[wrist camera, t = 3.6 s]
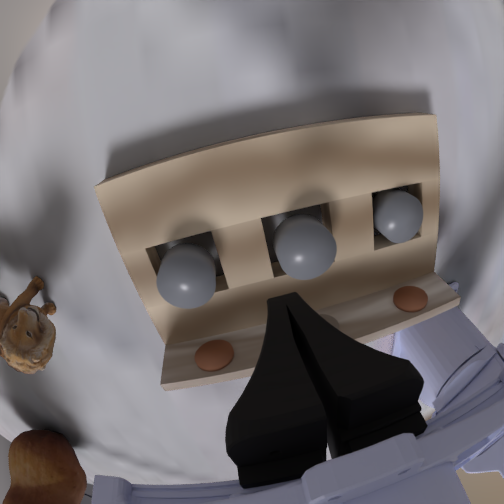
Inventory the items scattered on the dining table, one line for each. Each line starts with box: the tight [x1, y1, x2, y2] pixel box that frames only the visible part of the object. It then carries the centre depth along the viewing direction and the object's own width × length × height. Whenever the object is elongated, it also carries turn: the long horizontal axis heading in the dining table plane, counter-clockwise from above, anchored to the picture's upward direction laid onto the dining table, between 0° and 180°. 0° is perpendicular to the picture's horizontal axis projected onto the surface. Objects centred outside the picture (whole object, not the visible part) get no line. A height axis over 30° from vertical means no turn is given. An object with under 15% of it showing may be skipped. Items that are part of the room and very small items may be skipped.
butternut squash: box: [3, 429, 87, 504], centre depth 21 cm, size 14×13×25 cm
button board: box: [94, 113, 461, 391], centre depth 18 cm, size 14×23×6 cm, turn 102°
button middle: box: [273, 214, 337, 280], centre depth 18 cm, size 4×4×2 cm
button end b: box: [156, 243, 216, 309], centre depth 18 cm, size 4×4×2 cm
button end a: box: [372, 187, 423, 243], centre depth 19 cm, size 4×4×2 cm
